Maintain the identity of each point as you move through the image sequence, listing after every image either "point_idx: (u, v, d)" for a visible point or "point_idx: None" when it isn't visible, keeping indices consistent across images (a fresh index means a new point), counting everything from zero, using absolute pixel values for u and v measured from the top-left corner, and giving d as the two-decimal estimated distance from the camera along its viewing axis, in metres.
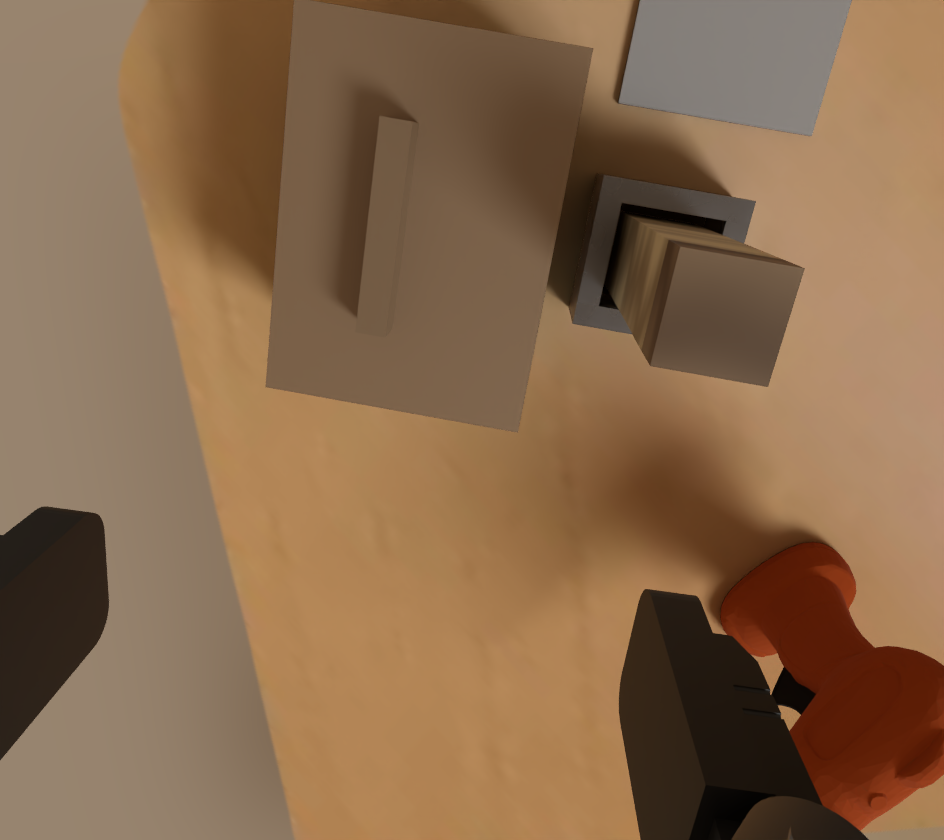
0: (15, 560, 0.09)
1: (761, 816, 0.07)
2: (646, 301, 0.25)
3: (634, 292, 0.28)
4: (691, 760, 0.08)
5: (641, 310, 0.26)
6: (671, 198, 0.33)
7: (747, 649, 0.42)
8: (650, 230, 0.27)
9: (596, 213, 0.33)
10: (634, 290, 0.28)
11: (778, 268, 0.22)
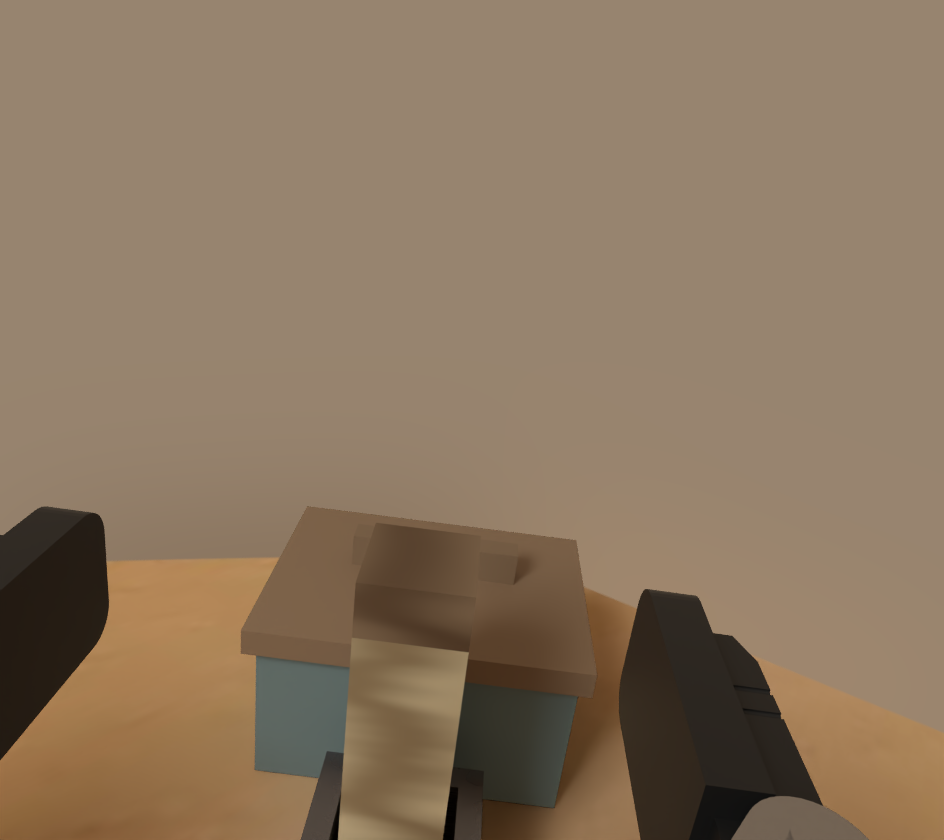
0: (15, 560, 0.09)
1: (761, 816, 0.07)
2: None
3: None
4: (691, 759, 0.08)
5: None
6: (468, 833, 0.29)
7: None
8: None
9: None
10: None
11: (473, 582, 0.23)
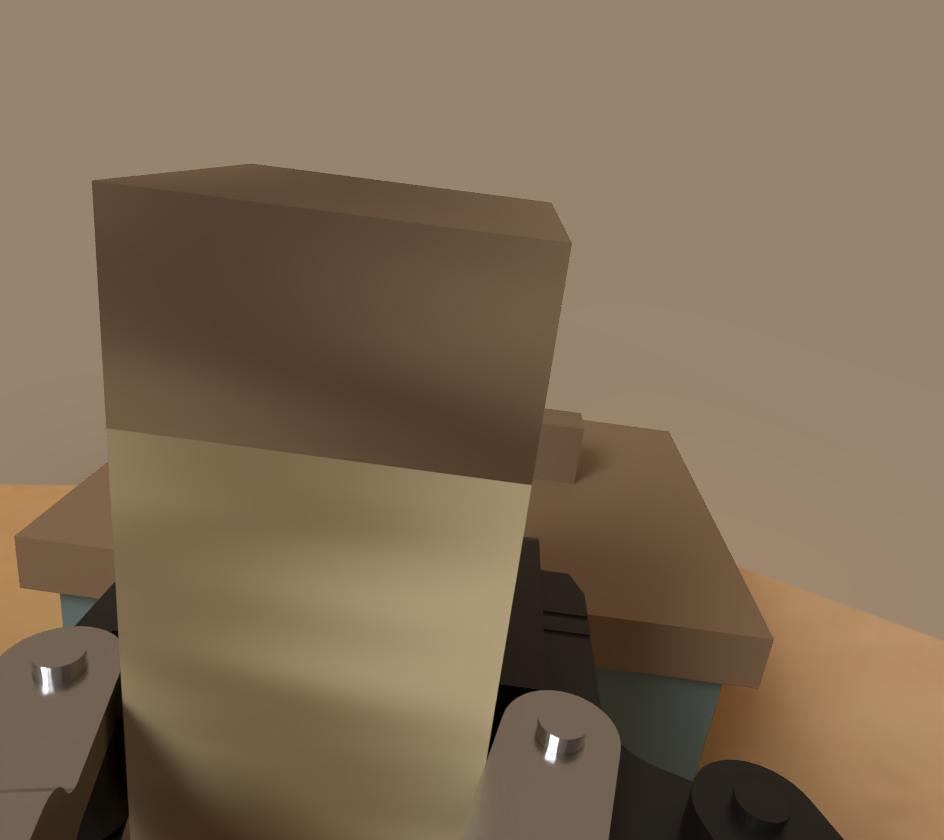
0: None
1: (514, 715, 0.08)
2: None
3: None
4: None
5: None
6: None
7: None
8: None
9: None
10: None
11: (551, 227, 0.06)
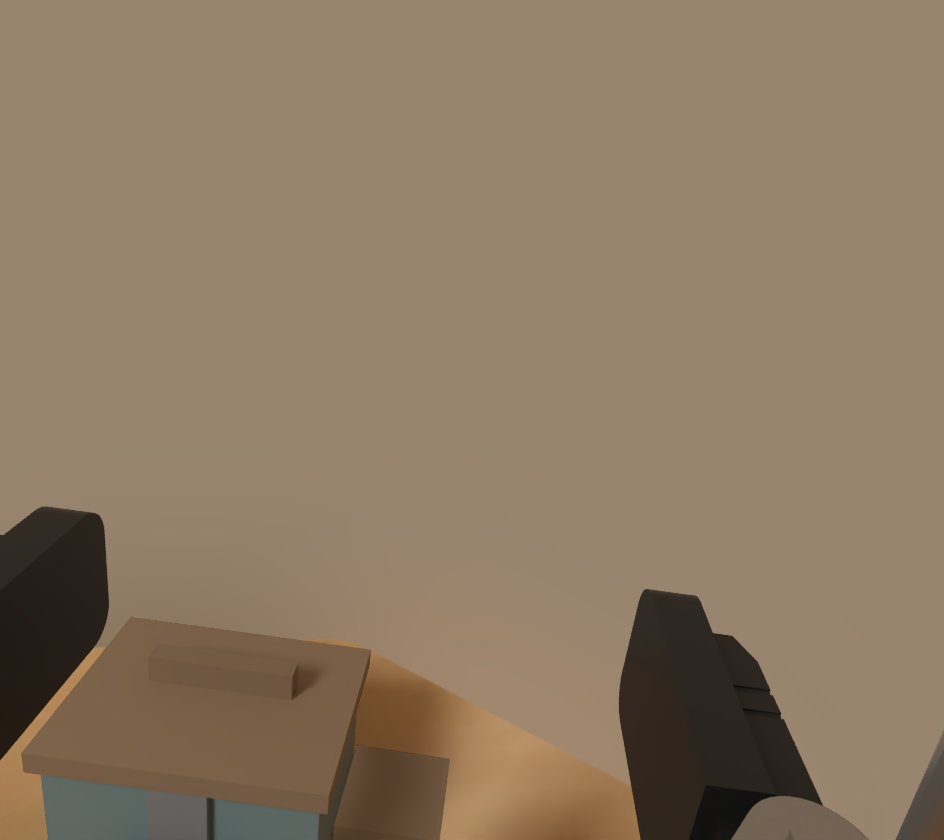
0: (15, 560, 0.09)
1: (762, 816, 0.07)
2: None
3: None
4: (691, 760, 0.08)
5: None
6: None
7: None
8: None
9: None
10: None
11: (437, 822, 0.26)
